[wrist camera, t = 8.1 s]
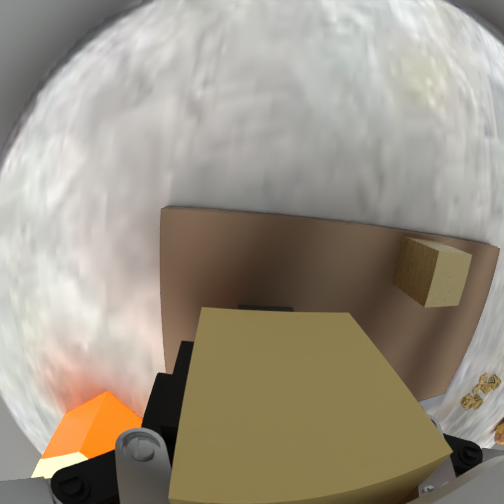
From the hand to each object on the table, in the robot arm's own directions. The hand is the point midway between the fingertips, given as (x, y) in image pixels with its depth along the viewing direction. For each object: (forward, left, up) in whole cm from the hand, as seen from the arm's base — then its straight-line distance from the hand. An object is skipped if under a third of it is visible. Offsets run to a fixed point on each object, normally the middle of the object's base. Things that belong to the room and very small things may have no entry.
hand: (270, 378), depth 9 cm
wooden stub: (-8, -4, -4) cm, 10 cm away
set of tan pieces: (-27, +11, -6) cm, 30 cm away
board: (-6, +1, -5) cm, 8 cm away
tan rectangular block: (0, 0, 0) cm, 0 cm away
